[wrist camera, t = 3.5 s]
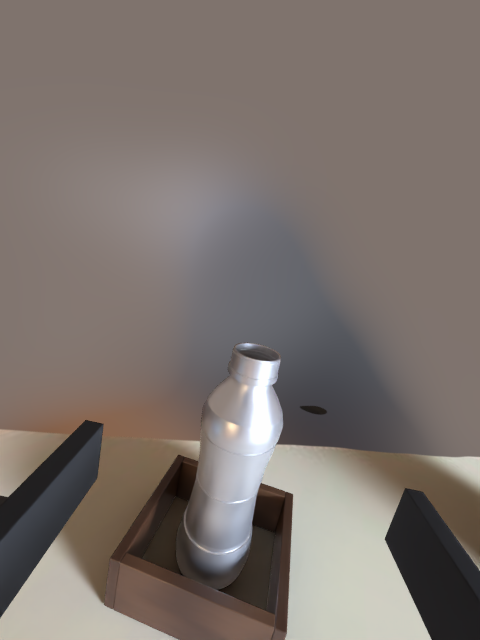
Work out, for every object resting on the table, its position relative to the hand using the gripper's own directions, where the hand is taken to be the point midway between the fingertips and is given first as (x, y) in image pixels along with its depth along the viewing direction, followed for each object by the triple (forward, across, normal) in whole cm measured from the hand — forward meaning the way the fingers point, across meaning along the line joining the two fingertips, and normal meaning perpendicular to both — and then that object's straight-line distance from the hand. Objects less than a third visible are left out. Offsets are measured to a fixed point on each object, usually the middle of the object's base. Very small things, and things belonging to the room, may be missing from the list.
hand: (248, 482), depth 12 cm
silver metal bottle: (+10, 0, -18) cm, 20 cm away
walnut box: (+10, 0, -17) cm, 20 cm away
